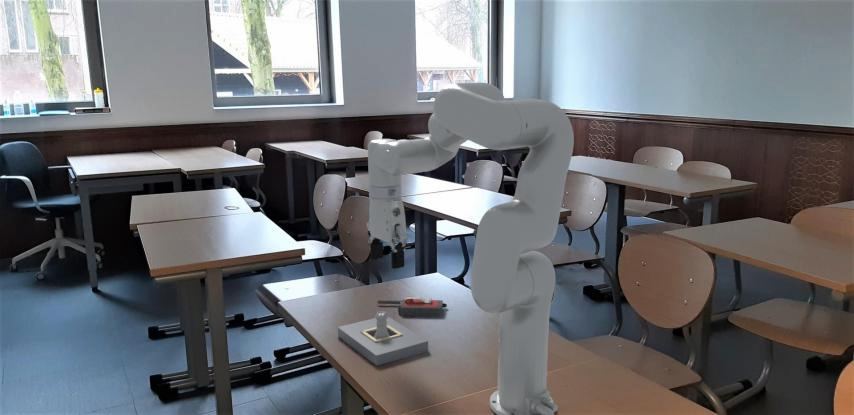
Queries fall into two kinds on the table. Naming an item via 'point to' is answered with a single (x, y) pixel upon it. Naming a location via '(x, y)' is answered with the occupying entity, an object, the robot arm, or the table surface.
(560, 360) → the table surface
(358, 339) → the socket board
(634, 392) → the table surface
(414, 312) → the red gray switch box
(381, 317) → the rook chess piece
